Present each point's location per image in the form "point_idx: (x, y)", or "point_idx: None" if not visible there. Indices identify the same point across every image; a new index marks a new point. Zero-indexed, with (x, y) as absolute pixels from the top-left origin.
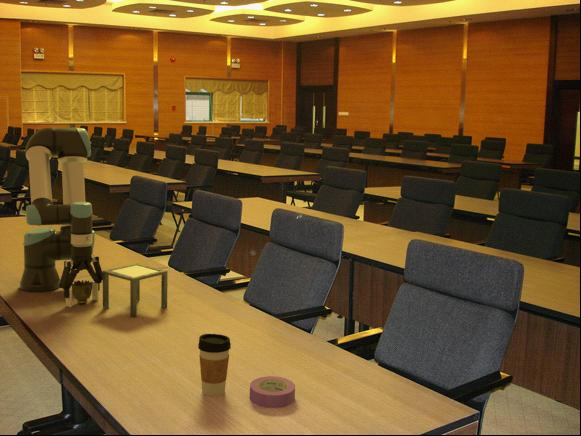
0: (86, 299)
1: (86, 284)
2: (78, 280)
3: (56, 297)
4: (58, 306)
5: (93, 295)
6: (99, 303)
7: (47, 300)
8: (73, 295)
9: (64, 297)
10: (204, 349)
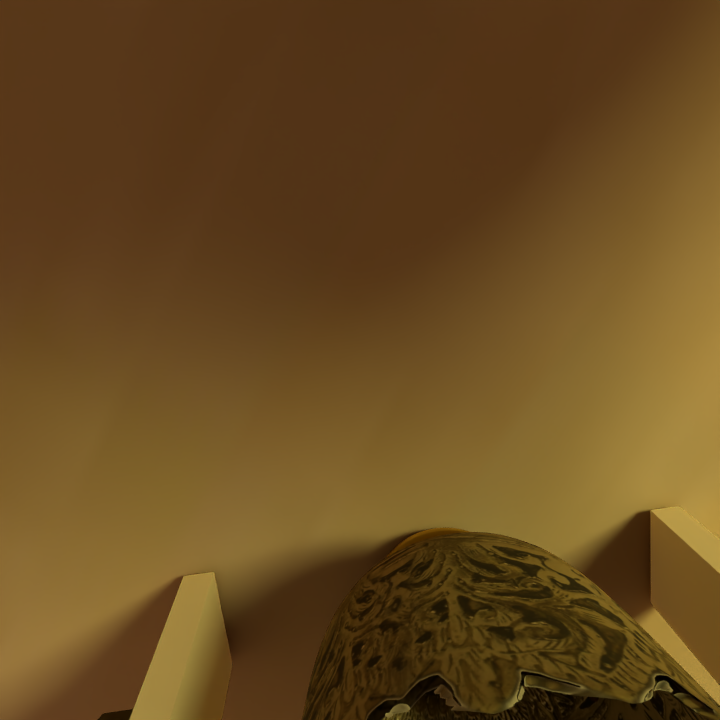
0: (467, 711)
1: (703, 717)
2: (625, 697)
3: (305, 20)
4: (99, 512)
5: (686, 573)
6: None
7: (90, 96)
8: (324, 637)
9: (100, 717)
10: None
